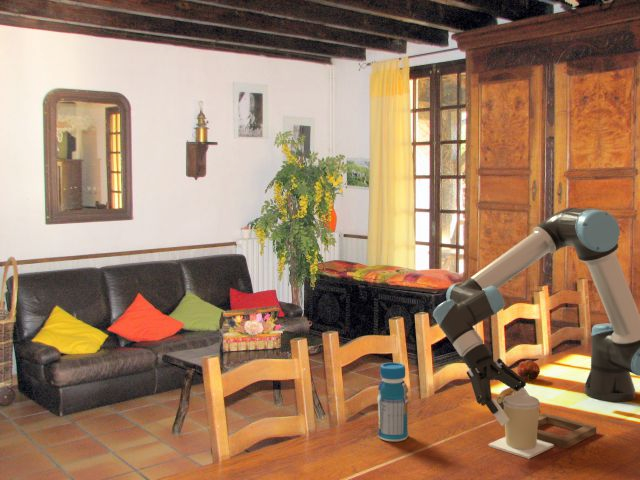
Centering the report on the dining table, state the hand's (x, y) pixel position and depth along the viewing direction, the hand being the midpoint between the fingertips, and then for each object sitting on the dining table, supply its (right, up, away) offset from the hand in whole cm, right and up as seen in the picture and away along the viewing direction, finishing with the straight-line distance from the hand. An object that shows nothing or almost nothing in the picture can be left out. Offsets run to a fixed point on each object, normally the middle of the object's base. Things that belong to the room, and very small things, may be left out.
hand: (520, 416), depth 193 cm
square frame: (+12, -7, +10) cm, 17 cm away
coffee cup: (0, -8, +1) cm, 8 cm away
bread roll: (+7, -5, +33) cm, 34 cm away
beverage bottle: (-33, -8, +8) cm, 35 cm away
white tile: (0, -8, +1) cm, 8 cm away
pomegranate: (+19, -2, +61) cm, 64 cm away
